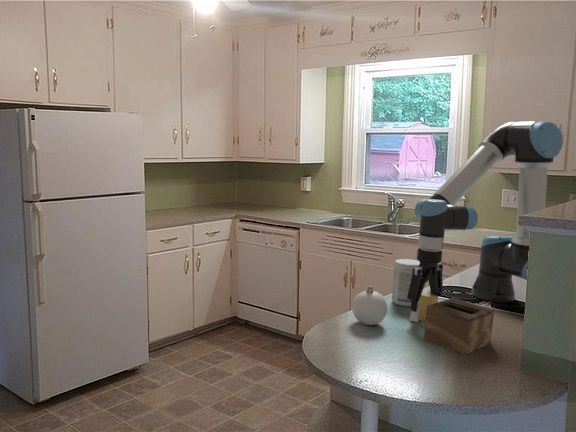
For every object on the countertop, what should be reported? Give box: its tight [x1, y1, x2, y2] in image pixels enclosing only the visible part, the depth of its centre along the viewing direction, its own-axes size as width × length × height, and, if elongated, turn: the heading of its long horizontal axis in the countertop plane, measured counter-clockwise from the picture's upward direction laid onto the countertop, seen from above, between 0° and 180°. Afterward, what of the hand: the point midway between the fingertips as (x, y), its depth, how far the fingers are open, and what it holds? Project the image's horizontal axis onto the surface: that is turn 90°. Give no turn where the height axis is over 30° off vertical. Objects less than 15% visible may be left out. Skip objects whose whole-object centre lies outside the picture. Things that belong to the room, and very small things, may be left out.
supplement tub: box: [391, 258, 422, 308], centre depth 185 cm, size 10×10×15 cm
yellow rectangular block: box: [416, 291, 439, 322], centre depth 170 cm, size 4×7×8 cm, turn 43°
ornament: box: [352, 285, 388, 326], centre depth 162 cm, size 10×10×12 cm
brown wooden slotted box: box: [423, 297, 495, 356], centre depth 152 cm, size 14×13×10 cm
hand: (423, 317), depth 171 cm, fingers open, 9 cm apart
